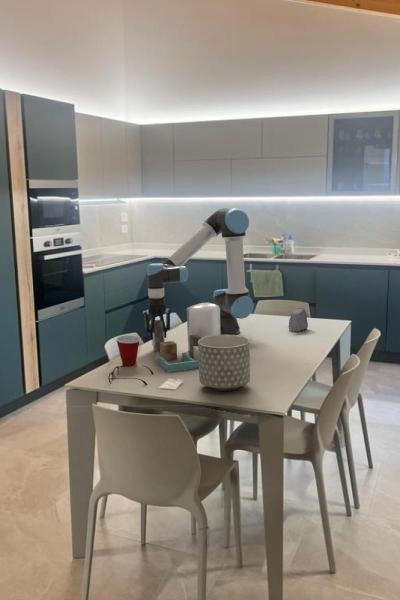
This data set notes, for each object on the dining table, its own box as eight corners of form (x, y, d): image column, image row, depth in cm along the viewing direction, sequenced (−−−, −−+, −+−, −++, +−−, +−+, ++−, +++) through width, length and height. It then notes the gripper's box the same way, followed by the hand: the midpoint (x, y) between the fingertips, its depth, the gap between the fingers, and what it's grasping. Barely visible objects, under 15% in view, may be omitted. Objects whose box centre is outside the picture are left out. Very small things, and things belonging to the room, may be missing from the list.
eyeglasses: (117, 373, 237) (116, 364, 236) (154, 374, 235) (154, 364, 234) (106, 386, 221) (106, 377, 220) (147, 387, 219) (146, 377, 218)
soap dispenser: (205, 343, 279) (203, 299, 275) (229, 347, 271) (228, 301, 267) (186, 350, 267) (185, 304, 263) (211, 355, 259) (210, 307, 255)
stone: (296, 329, 309) (312, 326, 303) (288, 337, 301) (305, 333, 295) (288, 310, 307) (304, 306, 301) (280, 316, 300) (296, 312, 293)
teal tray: (208, 355, 258) (208, 349, 257) (221, 364, 244) (221, 357, 243) (157, 362, 250) (157, 355, 249) (167, 372, 236) (167, 365, 235)
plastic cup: (133, 369, 240) (132, 341, 238) (112, 367, 245) (110, 339, 243) (146, 362, 250) (145, 336, 248) (125, 360, 255) (124, 334, 252)
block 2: (200, 355, 258) (199, 334, 257) (211, 363, 245) (210, 341, 244) (187, 357, 256) (187, 335, 255) (198, 365, 243) (197, 342, 242)
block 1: (163, 347, 273) (162, 319, 271) (177, 359, 254) (176, 328, 251) (151, 349, 271) (150, 320, 269) (164, 360, 252) (163, 329, 249)
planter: (192, 393, 209) (190, 345, 206) (209, 377, 227) (208, 333, 223) (241, 398, 202) (240, 349, 199) (256, 381, 220) (255, 336, 217)
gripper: (171, 294, 272) (173, 341, 277) (136, 297, 267) (139, 345, 271) (176, 296, 266) (178, 345, 270) (140, 299, 260) (143, 349, 264)
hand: (158, 345), depth 270 cm, fingers closed on block 1, 4 cm apart
